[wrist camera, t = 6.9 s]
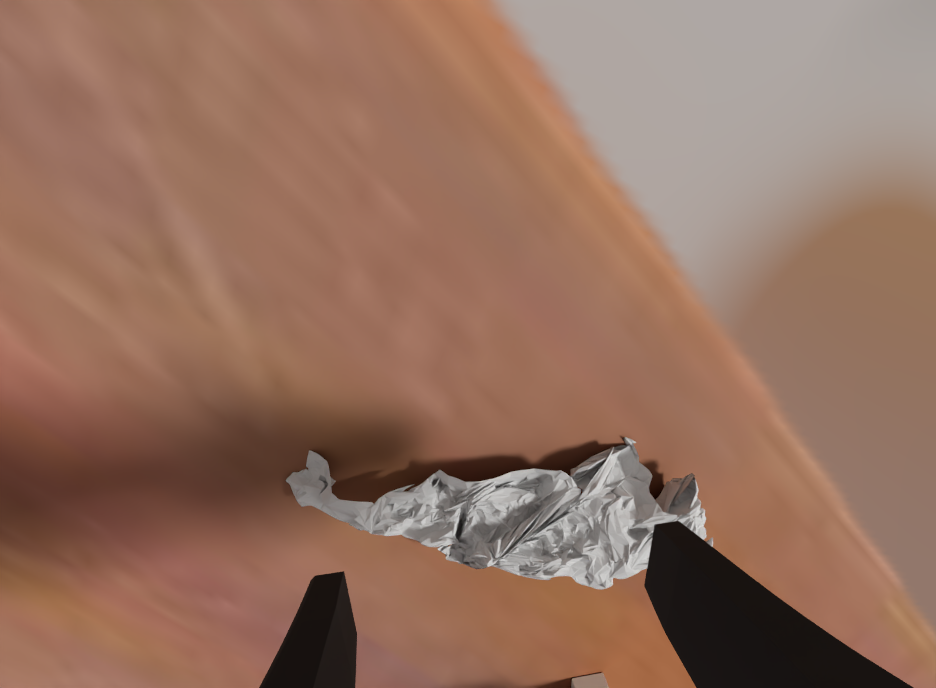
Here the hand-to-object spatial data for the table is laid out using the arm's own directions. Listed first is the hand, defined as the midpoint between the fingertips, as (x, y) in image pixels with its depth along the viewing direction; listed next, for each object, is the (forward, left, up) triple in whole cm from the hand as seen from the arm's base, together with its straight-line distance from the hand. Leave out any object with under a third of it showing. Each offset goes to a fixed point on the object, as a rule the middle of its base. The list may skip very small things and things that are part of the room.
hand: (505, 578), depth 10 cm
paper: (+1, -3, -6) cm, 7 cm away
